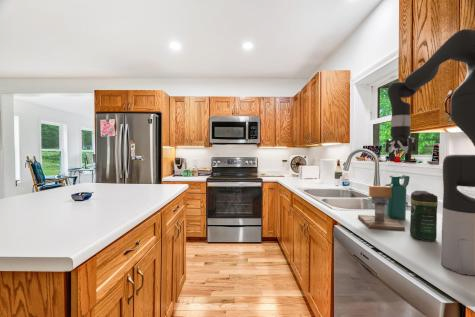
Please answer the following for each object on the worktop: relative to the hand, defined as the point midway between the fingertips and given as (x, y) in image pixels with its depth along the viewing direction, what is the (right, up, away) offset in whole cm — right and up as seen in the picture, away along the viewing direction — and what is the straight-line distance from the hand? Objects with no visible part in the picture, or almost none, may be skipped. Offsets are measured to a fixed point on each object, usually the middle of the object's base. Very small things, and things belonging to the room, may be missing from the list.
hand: (399, 161), depth 111 cm
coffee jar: (0, -30, -14) cm, 33 cm away
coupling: (-6, -20, +5) cm, 21 cm away
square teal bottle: (+9, -30, +17) cm, 35 cm away
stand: (-6, -30, +5) cm, 31 cm away
